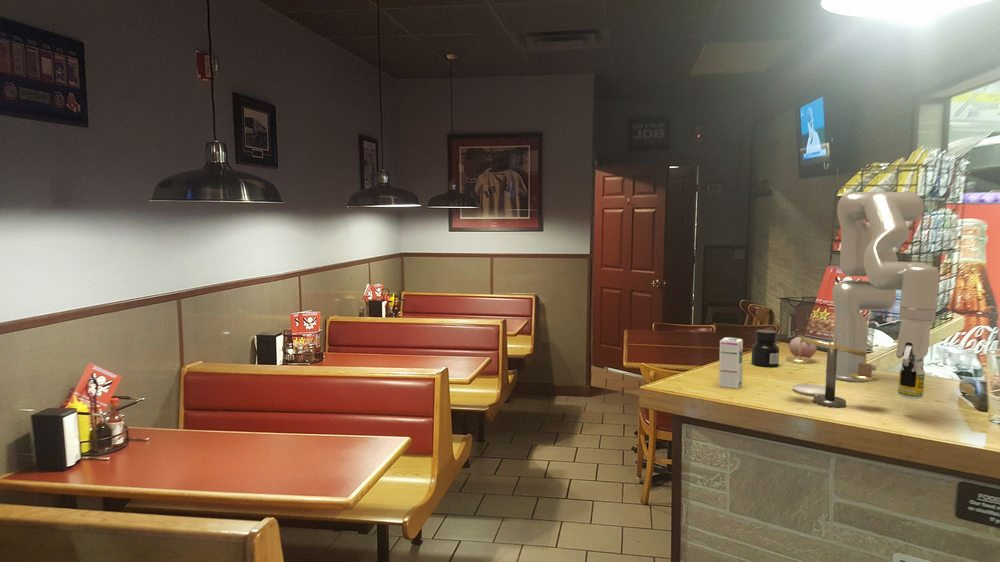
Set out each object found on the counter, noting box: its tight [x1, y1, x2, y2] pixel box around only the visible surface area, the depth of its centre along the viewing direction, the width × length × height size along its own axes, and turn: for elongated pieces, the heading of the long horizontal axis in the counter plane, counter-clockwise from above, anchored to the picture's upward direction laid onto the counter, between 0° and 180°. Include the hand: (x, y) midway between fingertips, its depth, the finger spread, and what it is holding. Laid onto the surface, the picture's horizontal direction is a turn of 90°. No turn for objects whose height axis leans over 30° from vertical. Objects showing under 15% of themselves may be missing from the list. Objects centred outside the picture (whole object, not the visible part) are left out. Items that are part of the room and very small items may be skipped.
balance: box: [785, 336, 881, 409], centre depth 169 cm, size 8×23×18 cm, turn 62°
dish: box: [791, 383, 826, 396], centre depth 182 cm, size 11×11×1 cm
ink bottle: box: [751, 329, 780, 368], centre depth 217 cm, size 10×9×12 cm
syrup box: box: [718, 337, 744, 390], centre depth 188 cm, size 6×6×14 cm
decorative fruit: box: [788, 333, 817, 359], centre depth 223 cm, size 9×8×10 cm
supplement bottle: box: [897, 358, 926, 400], centre depth 158 cm, size 5×5×10 cm
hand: (911, 382), depth 158 cm, fingers closed on supplement bottle, 5 cm apart
